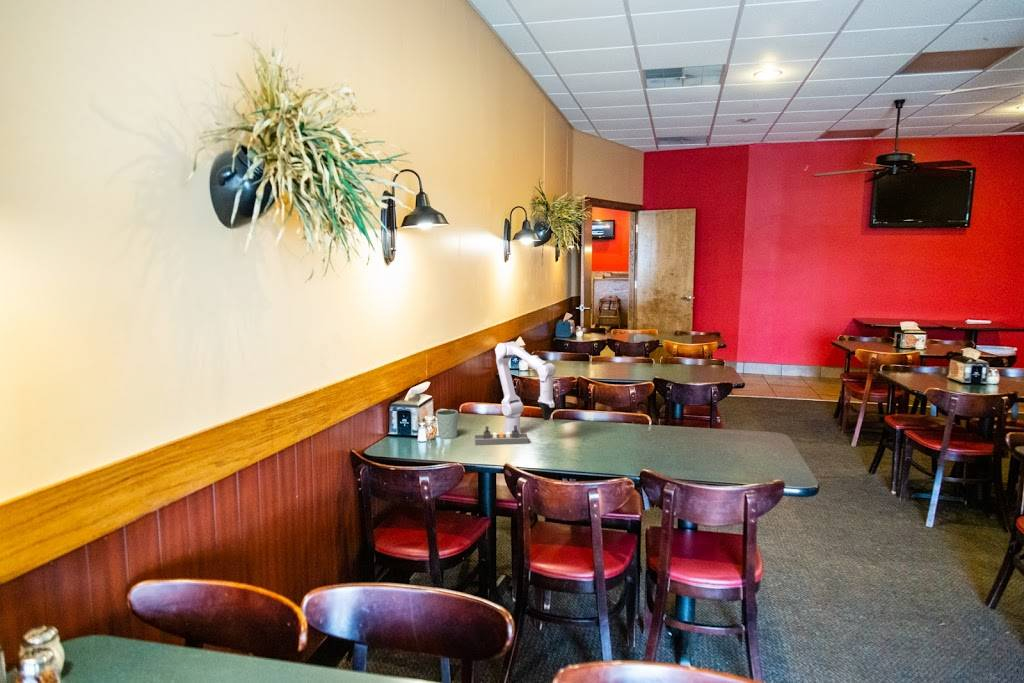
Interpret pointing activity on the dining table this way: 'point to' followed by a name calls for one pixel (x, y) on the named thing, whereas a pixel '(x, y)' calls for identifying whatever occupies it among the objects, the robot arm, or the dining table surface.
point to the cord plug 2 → (515, 432)
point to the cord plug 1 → (487, 432)
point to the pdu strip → (501, 440)
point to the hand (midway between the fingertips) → (546, 419)
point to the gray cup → (447, 423)
